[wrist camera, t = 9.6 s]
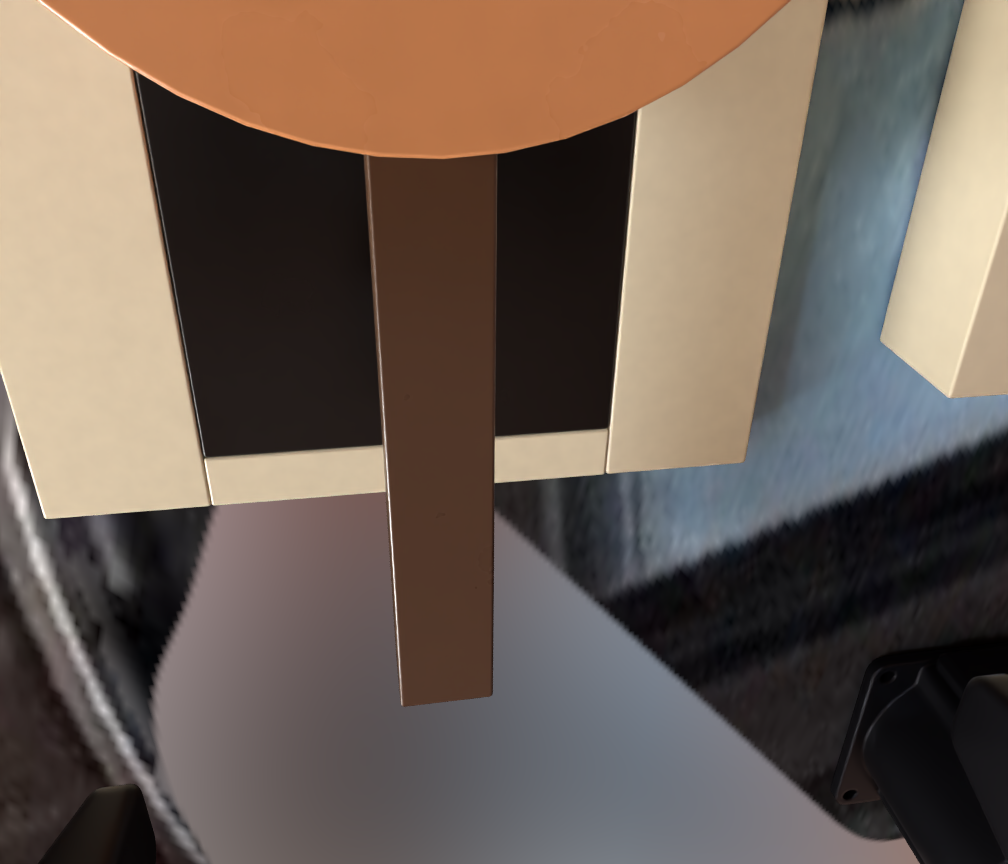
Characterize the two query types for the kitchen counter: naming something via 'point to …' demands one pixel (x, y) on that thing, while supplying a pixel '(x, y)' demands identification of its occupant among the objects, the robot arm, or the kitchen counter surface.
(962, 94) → the control panel
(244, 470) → the stove top
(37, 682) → the kitchen counter surface
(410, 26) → the saucepan
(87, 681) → the kitchen counter surface
